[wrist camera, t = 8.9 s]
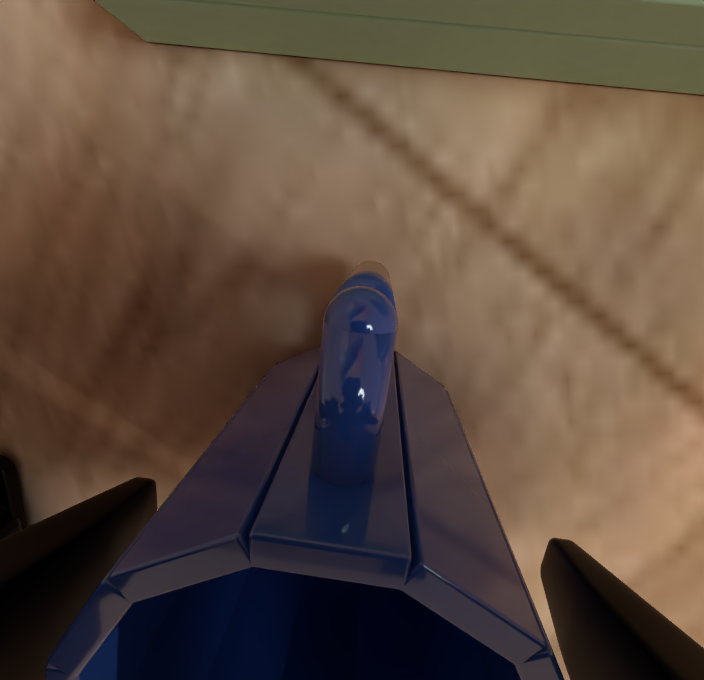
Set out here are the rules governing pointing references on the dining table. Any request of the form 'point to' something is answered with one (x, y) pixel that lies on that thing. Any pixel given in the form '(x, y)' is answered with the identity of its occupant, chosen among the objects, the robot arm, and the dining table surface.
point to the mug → (322, 536)
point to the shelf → (451, 35)
